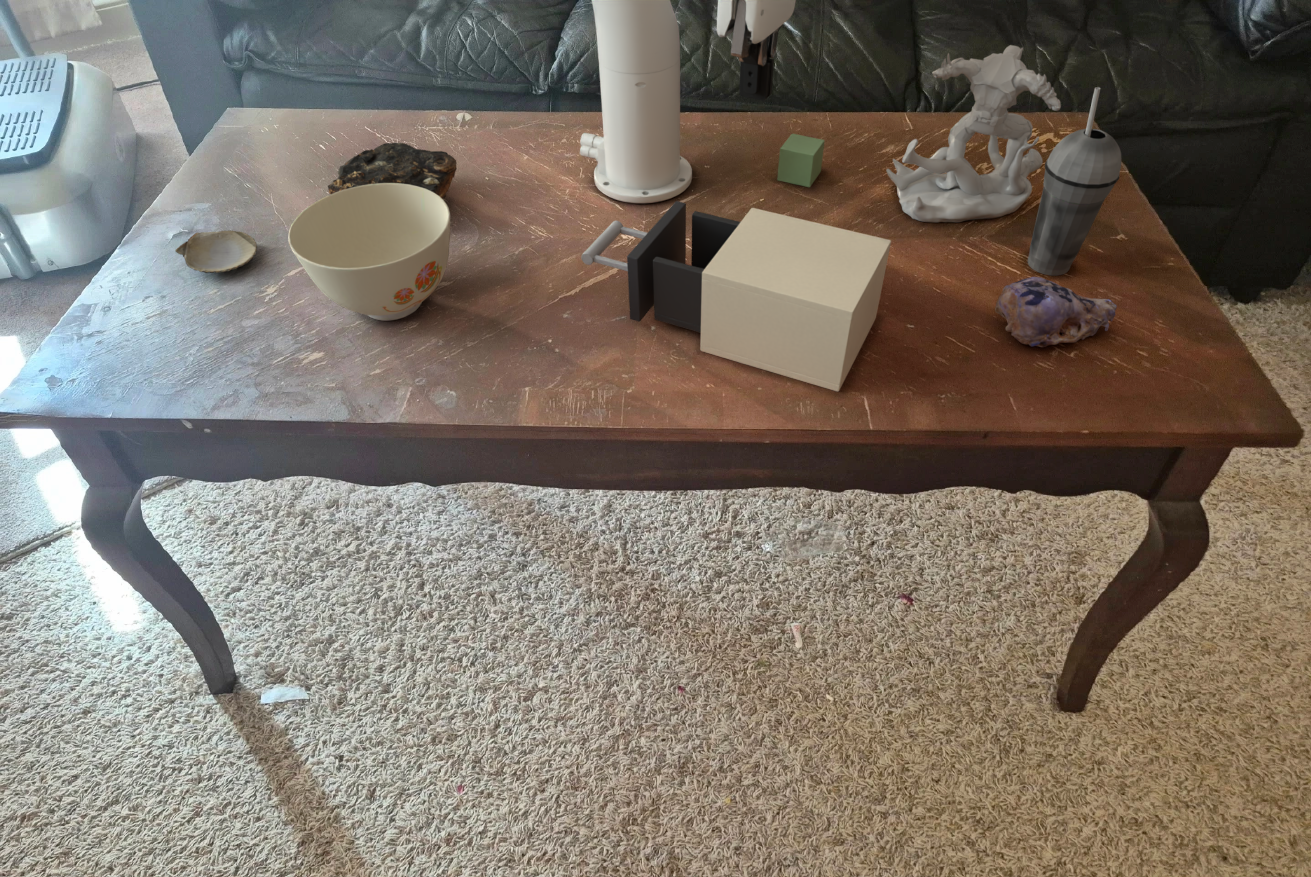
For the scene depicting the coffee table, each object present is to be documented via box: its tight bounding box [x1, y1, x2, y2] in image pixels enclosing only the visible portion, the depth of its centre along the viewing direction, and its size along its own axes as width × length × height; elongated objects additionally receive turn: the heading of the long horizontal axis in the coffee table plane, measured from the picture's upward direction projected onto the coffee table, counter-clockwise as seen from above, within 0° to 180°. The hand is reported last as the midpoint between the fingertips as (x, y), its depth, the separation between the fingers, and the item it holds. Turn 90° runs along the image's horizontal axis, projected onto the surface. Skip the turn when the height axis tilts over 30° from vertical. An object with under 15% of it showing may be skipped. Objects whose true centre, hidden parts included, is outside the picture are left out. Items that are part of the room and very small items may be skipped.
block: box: [776, 133, 826, 188], centre depth 112 cm, size 4×4×4 cm
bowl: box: [287, 183, 451, 322], centre depth 92 cm, size 16×16×10 cm
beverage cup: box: [1027, 86, 1122, 276], centre depth 91 cm, size 7×7×20 cm
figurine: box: [885, 44, 1062, 223], centre depth 102 cm, size 18×13×18 cm
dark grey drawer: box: [580, 200, 741, 334], centre depth 91 cm, size 20×11×8 cm, turn 64°
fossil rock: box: [327, 141, 457, 201], centre depth 108 cm, size 14×14×6 cm
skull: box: [994, 276, 1118, 348], centre depth 88 cm, size 12×8×6 cm, turn 85°
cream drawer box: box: [699, 207, 892, 393], centre depth 87 cm, size 15×13×10 cm
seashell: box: [175, 230, 258, 274], centre depth 101 cm, size 8×3×8 cm
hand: (755, 95), depth 97 cm, fingers closed
